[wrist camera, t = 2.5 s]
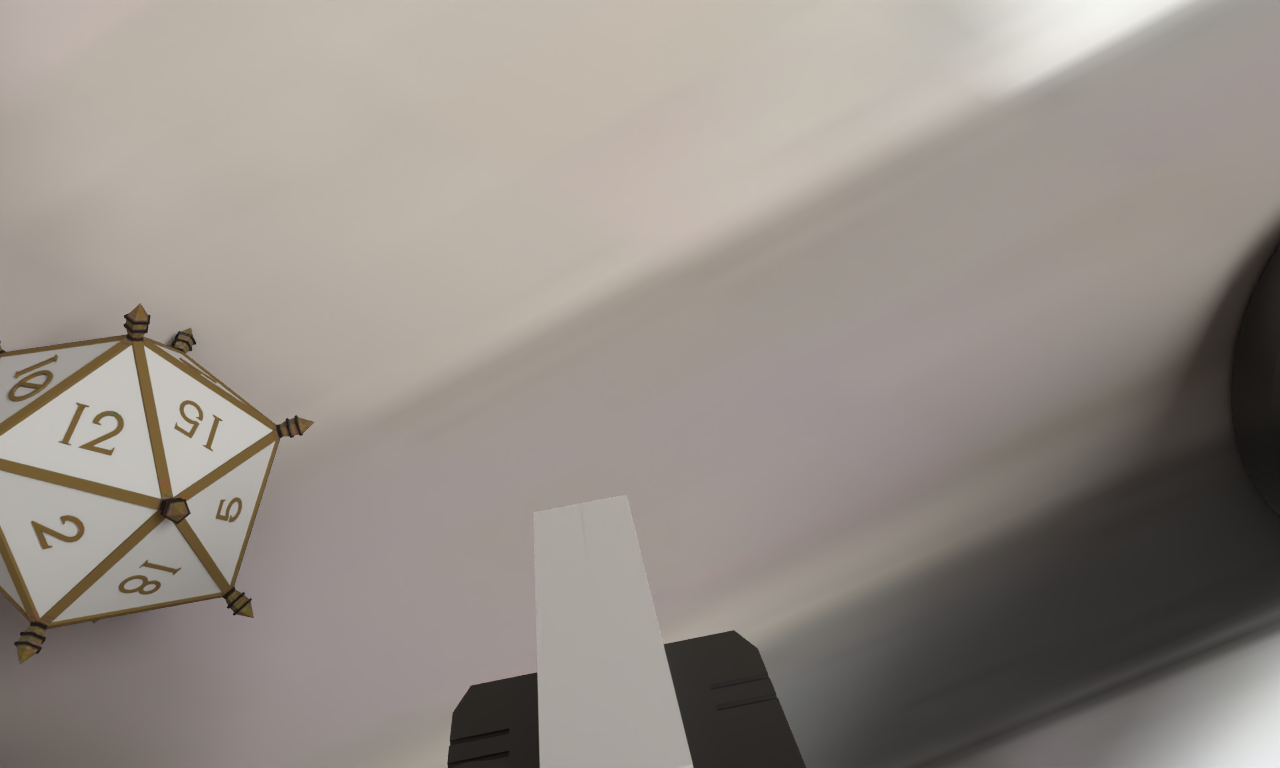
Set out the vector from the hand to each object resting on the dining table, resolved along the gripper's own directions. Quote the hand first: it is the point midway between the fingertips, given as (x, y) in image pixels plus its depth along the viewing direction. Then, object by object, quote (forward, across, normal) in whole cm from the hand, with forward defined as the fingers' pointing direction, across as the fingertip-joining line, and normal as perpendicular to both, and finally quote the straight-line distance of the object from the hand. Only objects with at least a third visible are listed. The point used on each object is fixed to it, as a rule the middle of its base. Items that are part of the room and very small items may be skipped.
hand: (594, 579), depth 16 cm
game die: (+15, +12, 0) cm, 19 cm away
